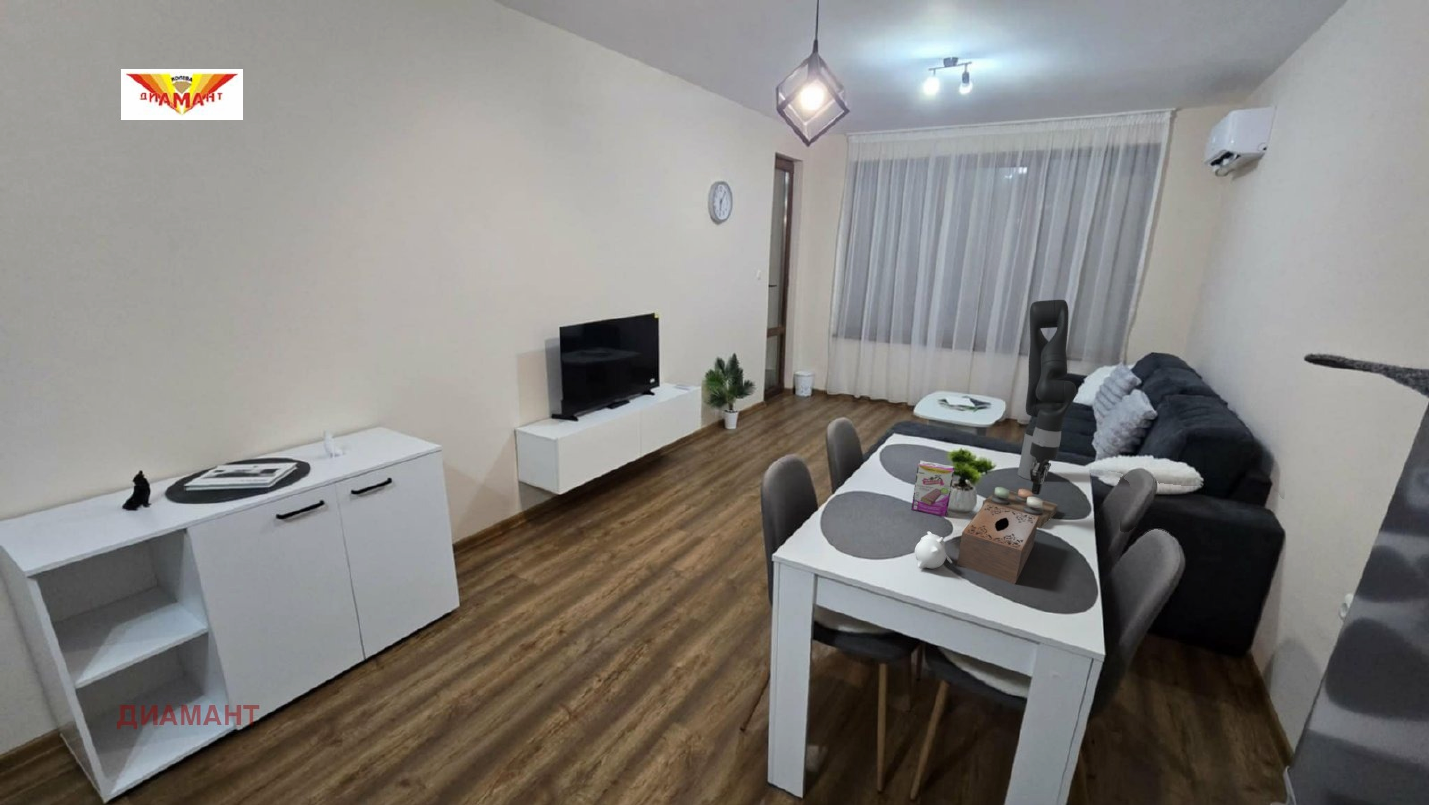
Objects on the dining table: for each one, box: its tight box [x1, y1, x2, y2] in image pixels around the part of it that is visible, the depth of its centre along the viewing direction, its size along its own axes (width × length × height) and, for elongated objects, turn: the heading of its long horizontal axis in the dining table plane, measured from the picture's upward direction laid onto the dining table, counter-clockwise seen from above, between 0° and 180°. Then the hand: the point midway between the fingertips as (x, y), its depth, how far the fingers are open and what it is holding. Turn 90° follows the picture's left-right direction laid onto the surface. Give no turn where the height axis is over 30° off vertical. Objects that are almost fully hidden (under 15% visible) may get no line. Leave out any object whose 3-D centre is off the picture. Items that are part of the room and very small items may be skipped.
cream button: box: [1026, 496, 1044, 508], centre depth 181 cm, size 4×4×2 cm
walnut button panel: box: [981, 490, 1059, 529], centre depth 188 cm, size 17×18×4 cm
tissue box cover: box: [957, 502, 1039, 585], centre depth 158 cm, size 26×14×10 cm, turn 142°
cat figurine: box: [914, 531, 953, 570], centre depth 153 cm, size 9×11×12 cm
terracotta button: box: [1017, 488, 1034, 499], centre depth 190 cm, size 4×4×2 cm
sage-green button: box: [993, 486, 1011, 498], centre depth 188 cm, size 4×4×2 cm
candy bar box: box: [911, 460, 956, 518], centre depth 184 cm, size 11×5×16 cm, turn 65°
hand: (1035, 493), depth 180 cm, fingers closed
